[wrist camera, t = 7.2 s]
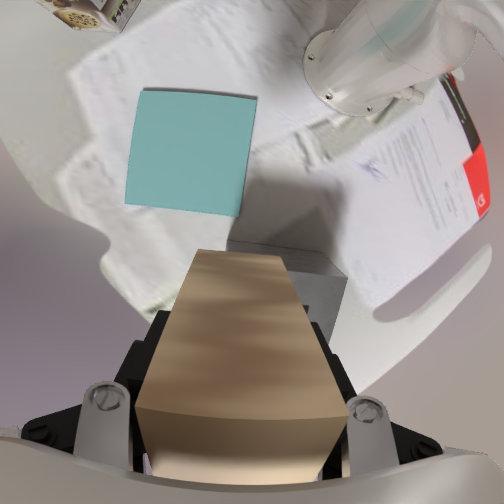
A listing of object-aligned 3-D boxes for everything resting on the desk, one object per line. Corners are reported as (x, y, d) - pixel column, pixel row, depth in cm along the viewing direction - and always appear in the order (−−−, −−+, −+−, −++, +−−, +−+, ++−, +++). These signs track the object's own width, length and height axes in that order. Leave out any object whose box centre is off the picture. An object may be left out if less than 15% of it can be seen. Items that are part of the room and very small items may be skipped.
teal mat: (256, 101, 30) (256, 100, 30) (238, 216, 34) (238, 217, 34) (142, 92, 29) (140, 90, 28) (126, 203, 33) (124, 203, 32)
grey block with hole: (322, 252, 36) (347, 277, 27) (302, 334, 39) (318, 373, 30) (227, 239, 35) (224, 263, 26) (216, 326, 38) (212, 367, 29)
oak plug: (280, 256, 16) (350, 415, 5) (269, 326, 17) (303, 497, 6) (198, 248, 15) (134, 406, 5) (195, 320, 16) (159, 491, 6)
